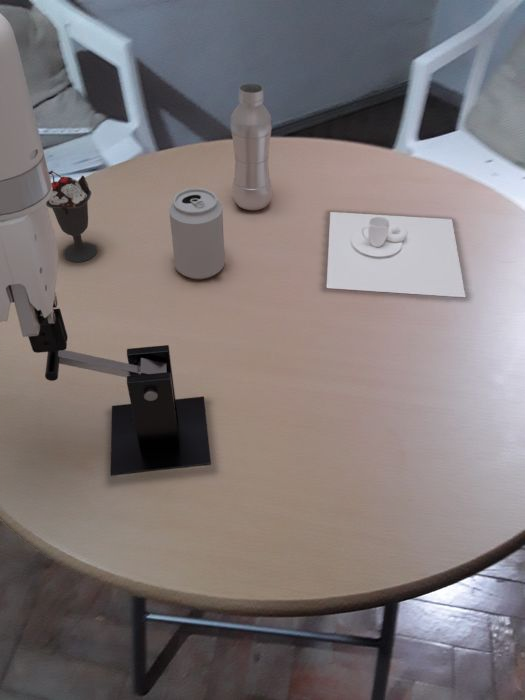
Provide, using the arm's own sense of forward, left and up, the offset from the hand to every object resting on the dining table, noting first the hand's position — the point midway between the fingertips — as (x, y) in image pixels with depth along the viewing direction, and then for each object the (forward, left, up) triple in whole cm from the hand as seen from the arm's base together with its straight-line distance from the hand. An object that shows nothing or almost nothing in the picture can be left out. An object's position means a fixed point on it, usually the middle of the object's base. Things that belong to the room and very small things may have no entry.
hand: (51, 345), depth 67 cm
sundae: (-2, +38, -17) cm, 42 cm away
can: (+16, +32, -17) cm, 40 cm away
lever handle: (+4, 0, -5) cm, 6 cm away
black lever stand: (+9, 0, -17) cm, 19 cm away
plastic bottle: (+26, +48, -17) cm, 57 cm away
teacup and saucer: (+46, +32, -17) cm, 59 cm away
